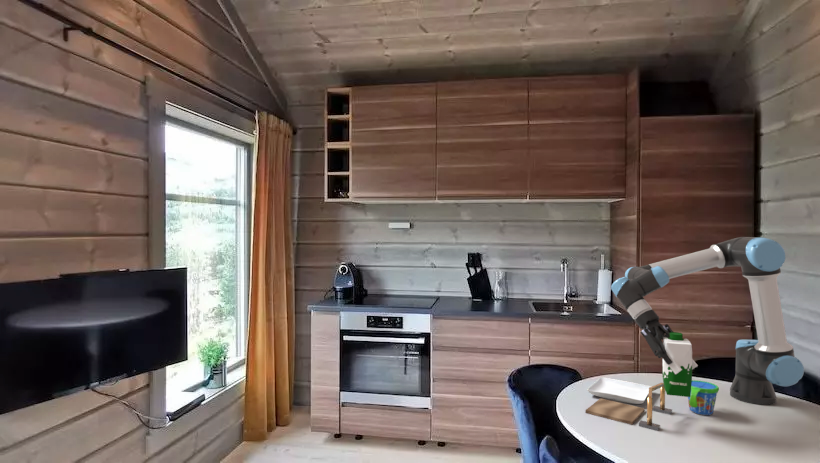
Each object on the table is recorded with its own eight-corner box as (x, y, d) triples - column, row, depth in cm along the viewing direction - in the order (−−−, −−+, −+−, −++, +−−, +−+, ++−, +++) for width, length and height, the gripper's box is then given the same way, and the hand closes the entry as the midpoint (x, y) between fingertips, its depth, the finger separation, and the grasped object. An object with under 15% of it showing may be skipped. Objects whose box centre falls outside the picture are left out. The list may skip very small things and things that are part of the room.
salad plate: (600, 383, 213) (600, 375, 213) (654, 394, 200) (654, 385, 200) (585, 397, 195) (586, 389, 195) (644, 410, 183) (644, 400, 183)
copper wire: (672, 412, 180) (672, 383, 180) (657, 430, 164) (658, 399, 164) (654, 408, 184) (655, 380, 184) (638, 425, 168) (639, 395, 167)
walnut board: (644, 411, 181) (644, 408, 181) (632, 424, 169) (632, 421, 169) (600, 400, 191) (600, 398, 191) (585, 412, 179) (585, 410, 179)
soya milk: (688, 389, 172) (689, 332, 171) (693, 398, 163) (694, 338, 163) (660, 386, 175) (661, 330, 174) (664, 395, 166) (664, 336, 166)
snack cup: (697, 403, 189) (697, 376, 189) (726, 412, 181) (727, 384, 180) (675, 411, 181) (675, 384, 181) (705, 421, 172) (706, 392, 172)
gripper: (654, 318, 187) (696, 370, 174) (618, 324, 177) (660, 380, 163) (668, 306, 183) (712, 359, 169) (631, 311, 172) (675, 369, 158)
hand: (686, 369), depth 166 cm, fingers closed on soya milk, 8 cm apart
